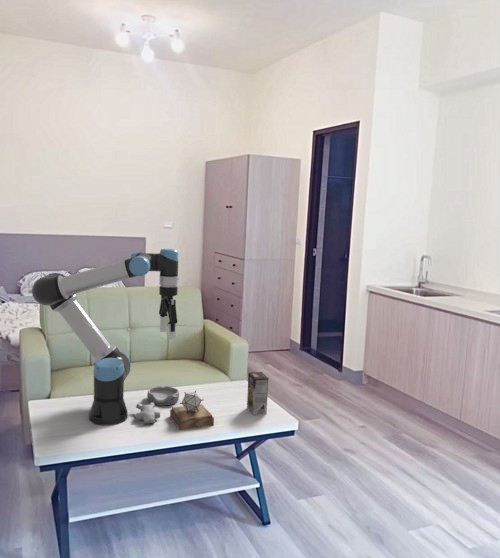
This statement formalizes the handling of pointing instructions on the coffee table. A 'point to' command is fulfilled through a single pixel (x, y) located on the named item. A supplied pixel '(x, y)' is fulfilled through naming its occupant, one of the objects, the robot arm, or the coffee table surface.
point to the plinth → (191, 417)
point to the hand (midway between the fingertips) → (167, 335)
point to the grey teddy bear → (147, 413)
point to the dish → (163, 395)
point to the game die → (191, 401)
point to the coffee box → (257, 393)
